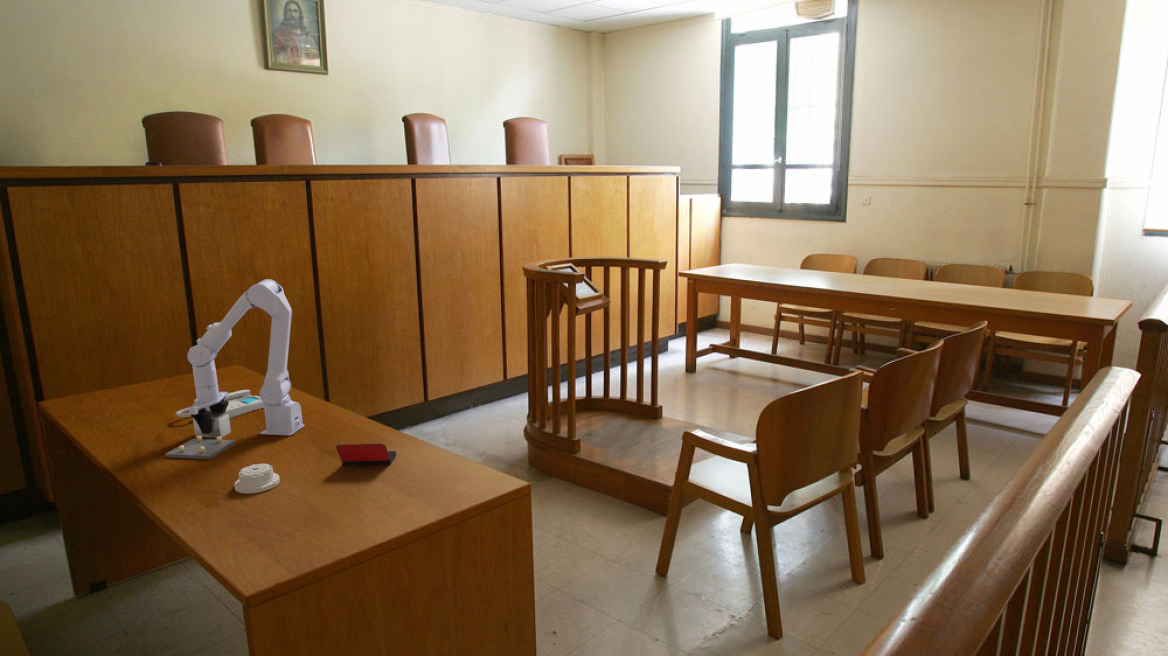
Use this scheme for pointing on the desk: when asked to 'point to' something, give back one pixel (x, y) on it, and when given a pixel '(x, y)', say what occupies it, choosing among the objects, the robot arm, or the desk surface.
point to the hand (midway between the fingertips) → (212, 429)
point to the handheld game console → (365, 454)
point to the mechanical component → (256, 479)
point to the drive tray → (200, 448)
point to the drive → (215, 426)
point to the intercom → (235, 404)
